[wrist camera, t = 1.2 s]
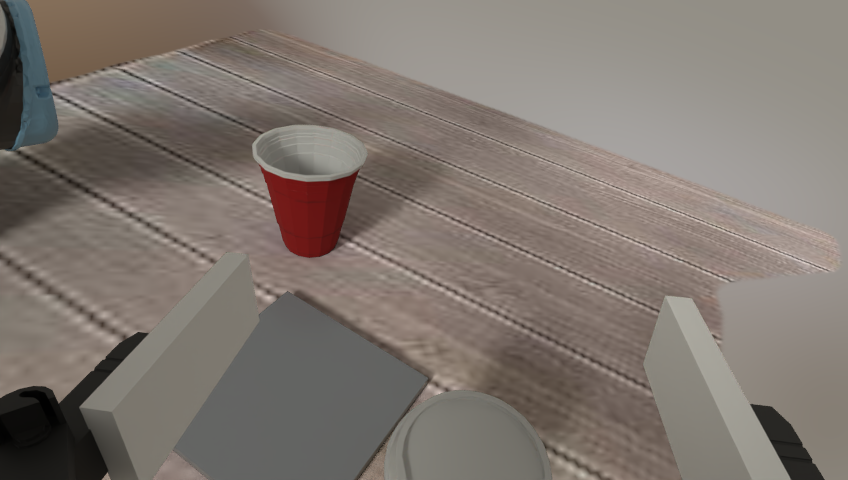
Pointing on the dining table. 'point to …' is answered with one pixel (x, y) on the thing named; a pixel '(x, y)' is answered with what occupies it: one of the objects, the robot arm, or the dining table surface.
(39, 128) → the robot arm
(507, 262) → the dining table surface
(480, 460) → the disposable coffee cup
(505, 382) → the dining table surface
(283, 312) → the slate board
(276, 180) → the plastic cup
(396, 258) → the dining table surface
